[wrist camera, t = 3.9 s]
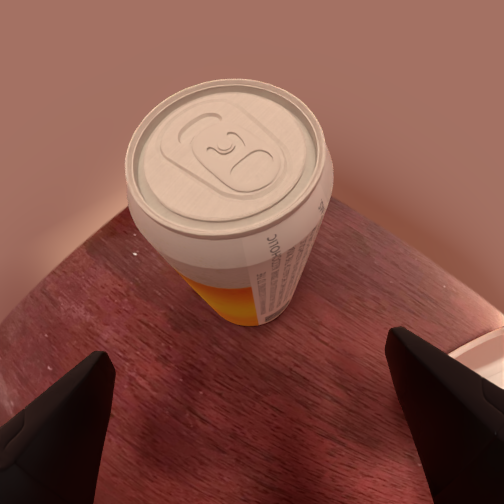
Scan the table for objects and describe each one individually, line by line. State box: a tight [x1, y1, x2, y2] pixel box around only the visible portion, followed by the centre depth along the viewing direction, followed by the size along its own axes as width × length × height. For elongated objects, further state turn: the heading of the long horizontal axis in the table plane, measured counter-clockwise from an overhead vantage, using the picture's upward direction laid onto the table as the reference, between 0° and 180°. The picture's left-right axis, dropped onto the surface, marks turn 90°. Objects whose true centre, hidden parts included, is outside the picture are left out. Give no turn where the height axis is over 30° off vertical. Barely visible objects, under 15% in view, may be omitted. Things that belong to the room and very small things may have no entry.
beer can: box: [125, 79, 334, 326], centre depth 15 cm, size 6×6×15 cm
